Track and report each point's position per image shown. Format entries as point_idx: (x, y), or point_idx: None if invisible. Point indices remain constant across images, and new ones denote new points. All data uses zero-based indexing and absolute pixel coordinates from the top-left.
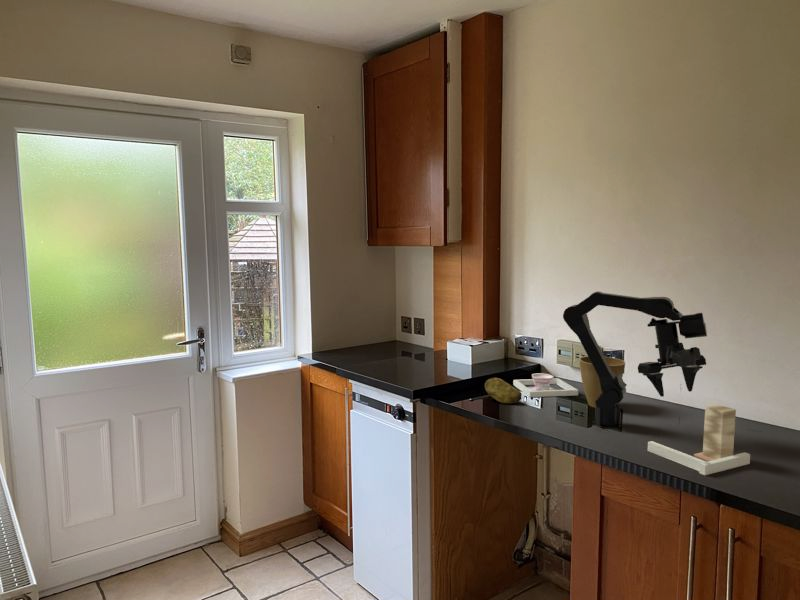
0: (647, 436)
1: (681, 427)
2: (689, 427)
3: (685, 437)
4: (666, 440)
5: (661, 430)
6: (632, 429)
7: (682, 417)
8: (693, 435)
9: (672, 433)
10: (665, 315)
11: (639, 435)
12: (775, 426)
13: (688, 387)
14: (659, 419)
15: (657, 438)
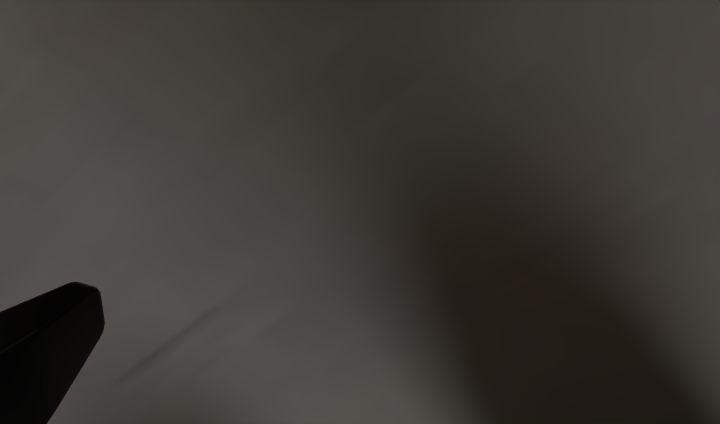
0: (663, 270)
1: (254, 260)
2: (208, 234)
3: (404, 109)
4: (614, 132)
5: (430, 294)
6: (608, 416)
7: (115, 360)
8: (311, 112)
9: (415, 216)
10: None
11: (700, 316)
12: None
13: (57, 367)
14: (261, 415)
15: (635, 200)
